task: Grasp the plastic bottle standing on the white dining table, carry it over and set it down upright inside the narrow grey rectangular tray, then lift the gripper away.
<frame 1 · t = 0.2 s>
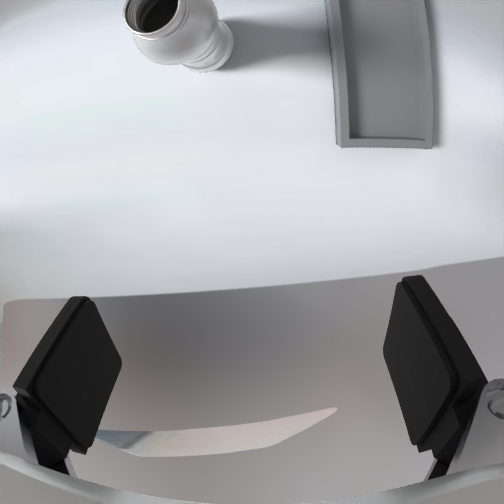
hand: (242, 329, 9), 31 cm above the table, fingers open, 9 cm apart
plastic bottle: (207, 47, 31), on the table
grey rectangular tray: (378, 50, 29), on the table
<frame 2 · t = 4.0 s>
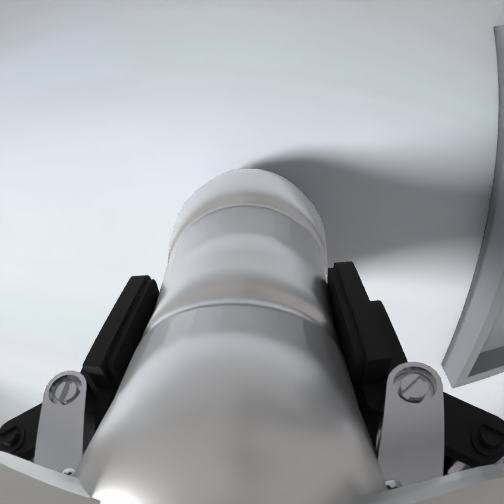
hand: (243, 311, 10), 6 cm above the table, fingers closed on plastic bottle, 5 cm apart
plastic bottle: (250, 223, 16), on the table, touching gripper
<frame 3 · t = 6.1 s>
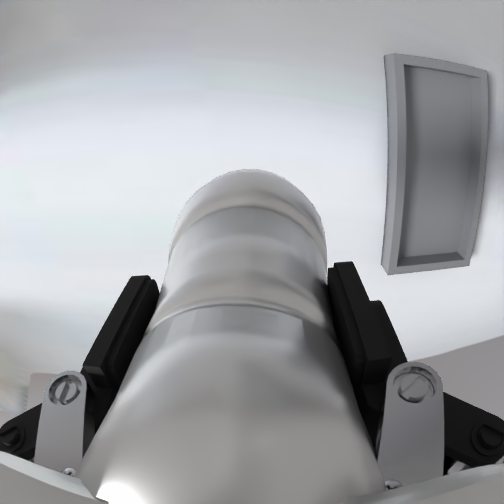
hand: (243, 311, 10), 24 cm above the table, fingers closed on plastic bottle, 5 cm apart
plastic bottle: (250, 223, 16), point 17 cm above the table, touching gripper
grey rectangular tray: (434, 166, 30), on the table
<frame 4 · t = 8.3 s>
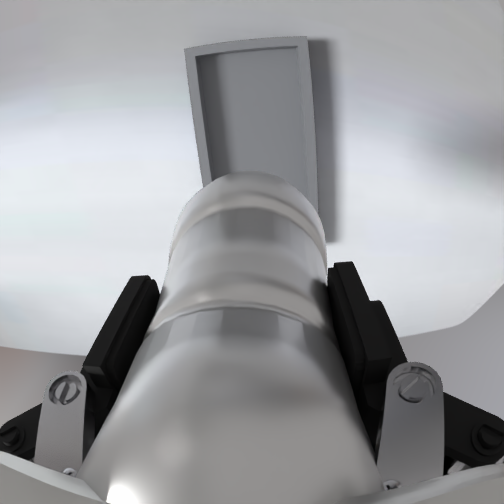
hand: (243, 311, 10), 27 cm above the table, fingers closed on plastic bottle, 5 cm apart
plastic bottle: (250, 225, 16), point 20 cm above the table, touching gripper
grey rectangular tray: (257, 149, 33), on the table
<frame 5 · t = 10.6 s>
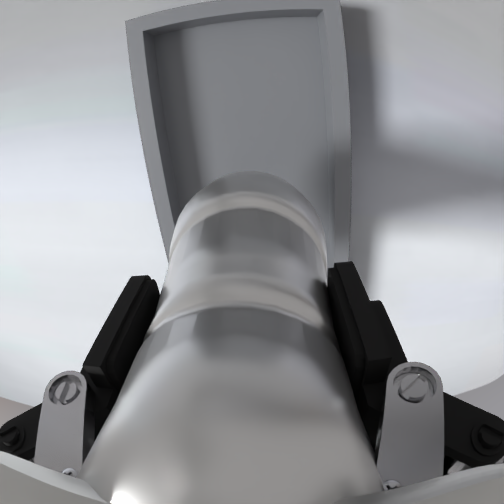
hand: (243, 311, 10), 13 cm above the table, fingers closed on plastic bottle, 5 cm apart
plastic bottle: (250, 225, 16), point 6 cm above the table, touching gripper
grey rectangular tray: (252, 185, 21), on the table
when the fingers open (8 cm above the table, at t = 12.5 s): plastic bottle drops 1 cm, resting on grey rectangular tray.
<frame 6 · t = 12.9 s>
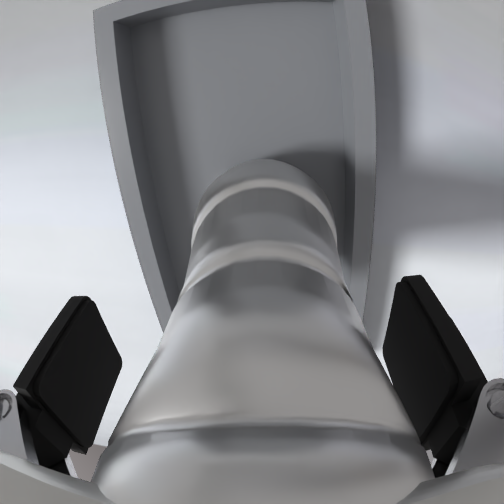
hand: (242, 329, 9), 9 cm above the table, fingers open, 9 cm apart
plastic bottle: (263, 211, 17), resting on grey rectangular tray
grey rectangular tray: (251, 210, 17), on the table
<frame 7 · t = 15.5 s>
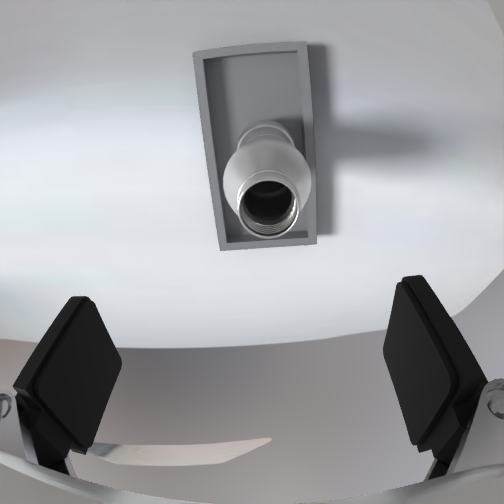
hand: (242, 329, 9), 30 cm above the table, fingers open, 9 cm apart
plastic bottle: (265, 146, 35), resting on grey rectangular tray
grey rectangular tray: (260, 146, 36), on the table
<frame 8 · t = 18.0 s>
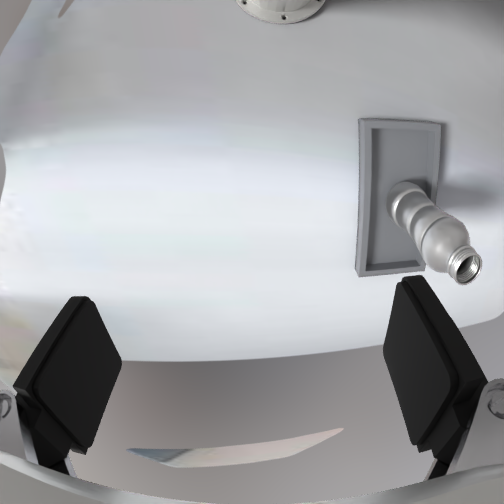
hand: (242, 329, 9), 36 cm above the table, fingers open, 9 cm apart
plastic bottle: (399, 198, 44), resting on grey rectangular tray
grey rectangular tray: (395, 198, 44), on the table
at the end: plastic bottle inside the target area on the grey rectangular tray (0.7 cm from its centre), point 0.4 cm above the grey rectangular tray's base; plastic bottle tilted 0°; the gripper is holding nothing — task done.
